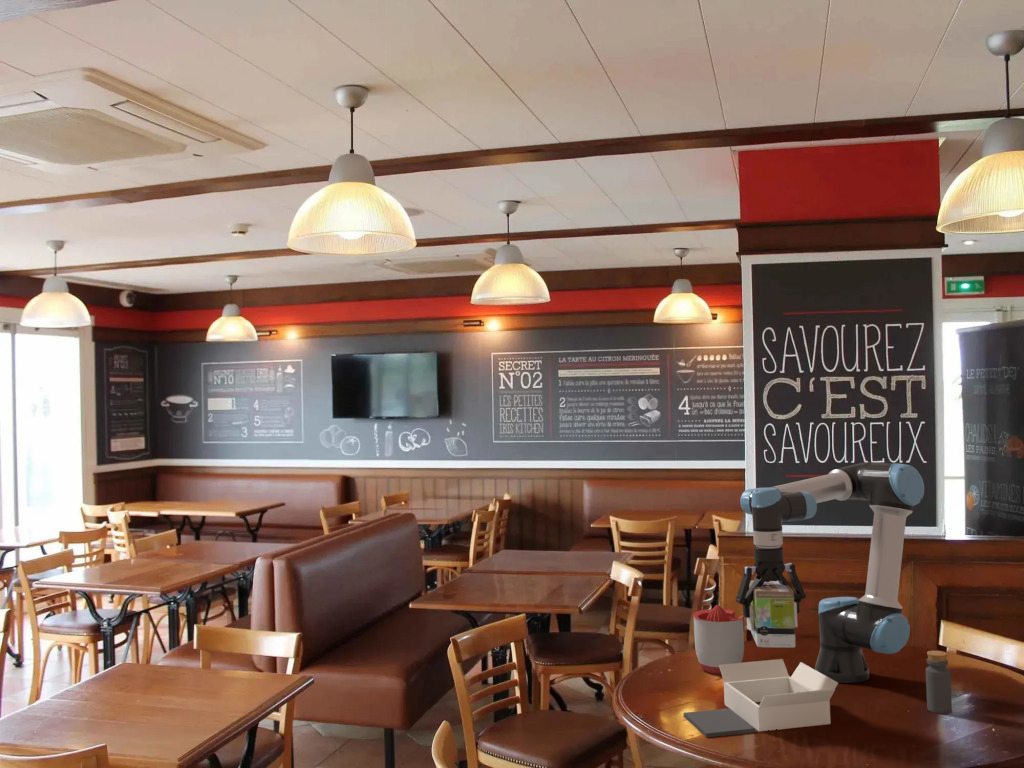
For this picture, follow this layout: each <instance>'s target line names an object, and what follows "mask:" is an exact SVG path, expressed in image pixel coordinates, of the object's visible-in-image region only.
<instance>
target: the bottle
mask: <svg viewBox="0 0 1024 768" xmlns="http://www.w3.org/2000/svg"><path fill="white" fill-rule="evenodd" d="M926 654H927V658H926V664H928V666H927V667H926V668H925V685H926V686H925V687H926V689H925V690H926V704H927V705H926V706H927V707H926V708H927V710H928V711H929V712H931V713H934V714H939V715H949V714H951V713H953V704H952V703H953V702H952V701H953V699H952V685H951V684H952V683H951V682H952V681H951V670H950V669H949V668H947V666H948V665H949V661H948V659H947V656H948V654H947V652H944V651H941V650H928V651H927V652H926Z"/></svg>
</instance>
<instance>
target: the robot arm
mask: <svg viewBox="0 0 1024 768" xmlns="http://www.w3.org/2000/svg"><path fill="white" fill-rule="evenodd" d="M924 495H925V484H924V480H923V477H922V475H921V474H920V472H919V471H918V470H917V469H916V468H915V467H914V466H912V465H910V464H906V463H905V464H903V463H897V462H867V461H866V462H859V463H855V464H852V465H847V466H844V467H839V468H836V469H832V470H831V471H829V472H828V474H824V475H820V476H816V477H810V478H807V479H802V480H797V481H793V482H788V483H783V484H779V485H774V486H770V487H756V488H748V489H745V490H744V491H743V492H742V494H741V496H740V501H739V502H740V507H741V510H742V511H743V512H744V513H745V514H747V515H750V516H752V518H751V519H752V535H753V537H752V538H753V545H755V546H754V547H753V554H754V555H753V556H754V566H747V565H744V566H743V576H742V579H741V582H740V585H739V587H738V590H737V594H736V597H735V602H736V603H738V604H740V605H742V610H743V611H742V612H743V613H742V615H744V618H746V626H747V629H748V630H749V631H750V632H751V631H754V615H753V606H752V605H750V604H751V602H752V601H753V592H754V589H753V587H761V585H763V584H764V582H770V581H778V582H779V583H780V584H783V585H789V586H790V588H791V589H792V590H793V592H794V614H795V628H798V625H799V624H798V614H800V612H801V610H800V603H801V602H802V600H805V599H806V598H807V595H806V593H805V590H804V588H803V585H802V584H801V582H800V579H799V577H798V575H797V572H796V571H797V569H796V564H794V563H792V562H787V563H784V560H785V559H784V555H785V554H784V547H783V544H784V543H783V523H784V522H785V523H786V522H794V521H804V520H807V519H812V518H814V516H815V515H816V513H817V511H818V506H817V505H818V504H819V503H824V502H828V501H831V500H832V501H833V500H837V501H841V502H842V501H847V500H856V501H858V500H860V501H869V508H870V509H871V510H872V512H873V520H872V528H871V529H872V530H871V538H870V549H869V556H868V557H869V558H868V565H867V566H868V567H867V575H866V584H865V593H864V595H863V596H861V597H860V598H858V597H855V596H838V597H837V596H836V597H827V598H823V599H821V600H820V601H819V603H818V613H817V614H818V629H819V631H818V632H819V647H820V648H819V650H818V651H819V652H818V655H817V658H816V661H815V666H814V670H816V671H818V672H820V673H821V674H823V675H825V676H827V677H829V678H831V679H832V680H834V681H836V682H838V683H845V684H856V683H862V682H866V681H868V680H869V679H870V669H869V667H868V664H867V662H866V658H865V655H864V652H863V650H862V648H863V649H867V650H871V651H874V652H876V653H880V654H886V655H893V654H897V653H898V652H900V651H901V650H902V649H903V648H904V647H905V645H906V644H907V642H908V640H909V637H910V633H911V632H910V631H911V629H910V627H911V625H910V624H909V620H908V619H907V617H906V616H905V615H903V606H902V605H901V603H899V601H898V598H899V589H900V588H899V587H900V579H901V570H902V560H903V552H904V551H903V550H904V539H905V532H906V521H907V517H908V516H909V515H912V513H913V512H914V510H913V509H914V507H915V506H916V505H919V504H920V503H921V500H923V498H924ZM785 571H786V572H787V575H788V577H789V579H790V581H791V584H792V586H791V585H790V584H789V582H788V581H787V579H786V577H785V576H784V572H785ZM754 572H755V574H756V575H755V577H754V578H753V580H754V582H753V583H752V585H751V587H750V588H749V584H750V581H751V580H752V577H753V575H754ZM793 588H794V589H793Z"/></svg>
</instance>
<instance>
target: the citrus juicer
mask: <svg viewBox="0 0 1024 768" xmlns="http://www.w3.org/2000/svg"><path fill="white" fill-rule="evenodd" d="M692 617H693V634H694V635H693V637H694V648H695V653H696V657H697V659H698V664H699V666H700V668H701V670H703V671H704V672H708V673H711V674H712V675H722V674H721V671H720V668H719V665H722V664H733V663H743V659H744V658H743V657H744V653H745V652H744V651H745V639H744V638H745V637H744V636H745V635H744V632H745V630H747V631H748V630H749V629H747V624H745V617H744V615H743V614H742V615H740V616H739V617H738V618H737V619H736V612H735V610H731V609H724V608H722V606H720V605H719V604H716V605H714V607H713V608H712V609H711V608H710V609H709V608H708V609H701V610H697V611H694V612H693V613H692Z"/></svg>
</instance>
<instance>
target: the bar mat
mask: <svg viewBox="0 0 1024 768" xmlns="http://www.w3.org/2000/svg"><path fill="white" fill-rule="evenodd" d="M683 717H684V718H685V719H686V720H687V721H688V722H689V723H690V724H691V725H692V726H693V727H694V728H695V729H697V730H698V731H699V733H701V734H702V735H703V736H704V737H705V738H714V737H722V736H723V737H724V736H732V735H733V736H734V735H741V734H743V735H744V734H752V733H756V729H755V728H754V727H753V726H752V725H750V724H749V723H748V722H746V721H745V720H744V719H743V718H741V717H740V716H739V715H738V714H736V713H735V712H734V711H732V710H731V709H730V708H729V707H727V708H718V709H706V710H698V711H688V712H687V711H686V712H683Z"/></svg>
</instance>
